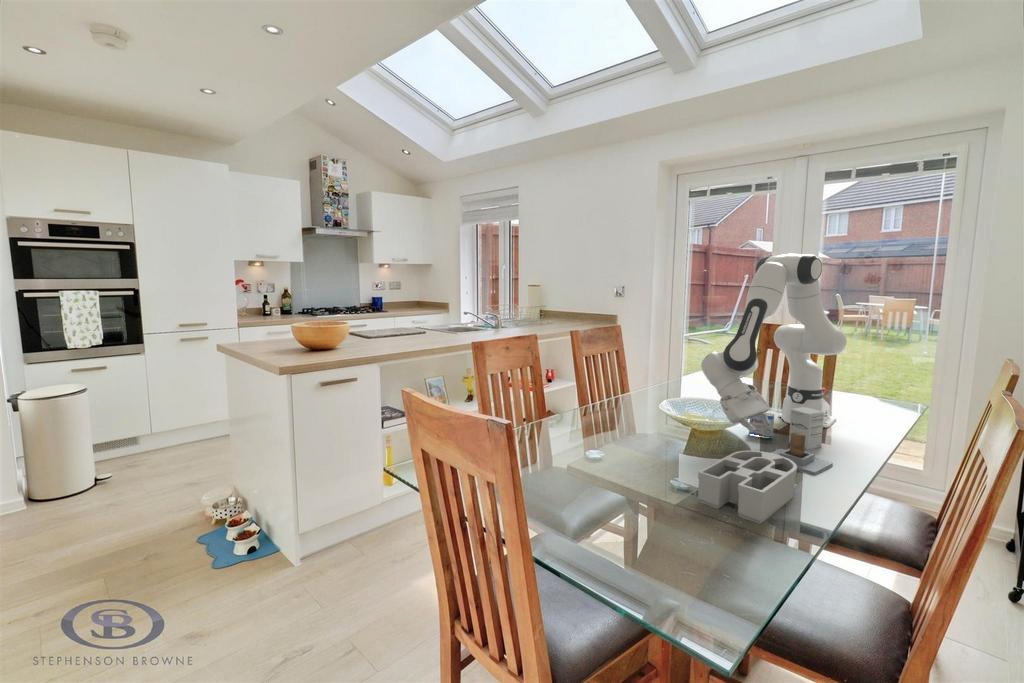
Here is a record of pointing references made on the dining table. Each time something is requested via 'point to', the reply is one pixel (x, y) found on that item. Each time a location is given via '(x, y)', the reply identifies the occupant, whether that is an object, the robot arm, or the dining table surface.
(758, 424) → the medicine box
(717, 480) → the grey compartment organizer
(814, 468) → the hub plate
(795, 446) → the knob
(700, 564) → the dining table surface
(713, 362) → the robot arm
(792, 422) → the supplement box
